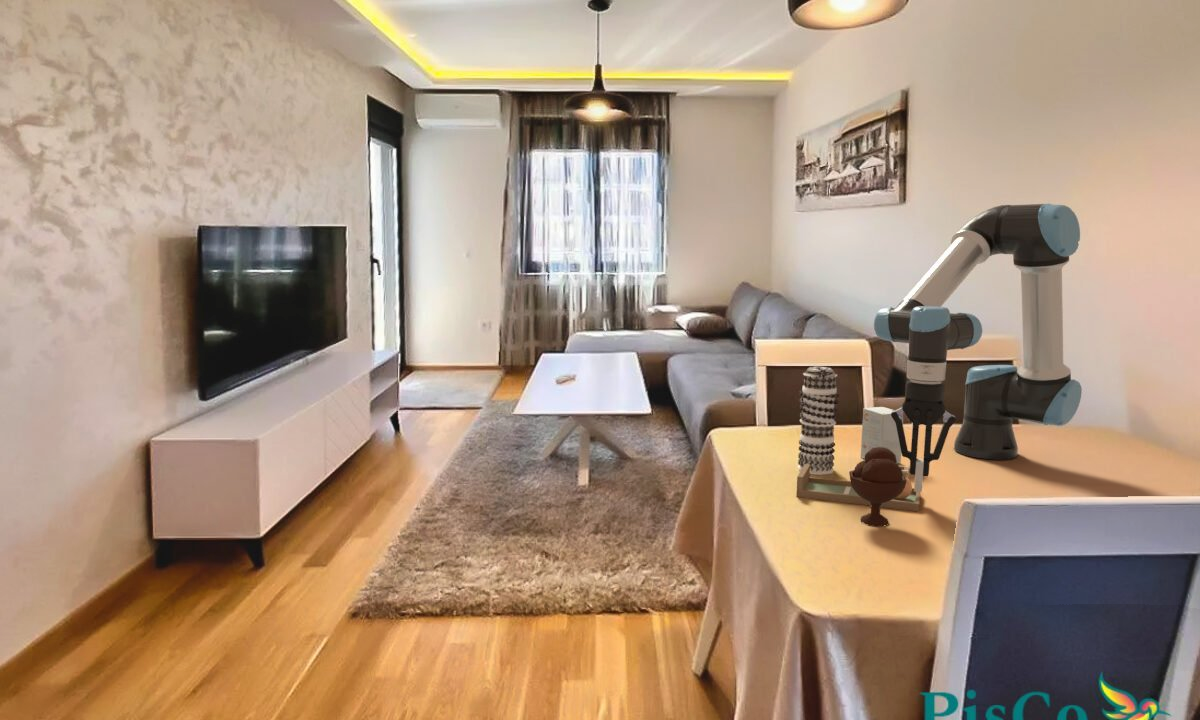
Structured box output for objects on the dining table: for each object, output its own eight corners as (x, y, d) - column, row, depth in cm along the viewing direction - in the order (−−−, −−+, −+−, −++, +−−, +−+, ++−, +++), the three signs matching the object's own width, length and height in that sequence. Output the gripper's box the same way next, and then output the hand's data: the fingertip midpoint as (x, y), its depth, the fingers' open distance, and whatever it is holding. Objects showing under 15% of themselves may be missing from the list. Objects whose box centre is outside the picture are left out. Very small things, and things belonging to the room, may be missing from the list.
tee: (907, 486, 191) (908, 466, 190) (906, 492, 187) (908, 471, 186) (887, 484, 193) (888, 464, 192) (885, 489, 189) (887, 469, 188)
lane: (920, 496, 184) (921, 476, 184) (918, 511, 174) (920, 490, 174) (803, 482, 193) (804, 463, 193) (796, 496, 183) (797, 476, 183)
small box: (901, 463, 210) (904, 412, 208) (880, 465, 208) (883, 414, 206) (880, 455, 218) (883, 406, 216) (859, 457, 215) (862, 407, 213)
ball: (912, 495, 182) (912, 473, 181) (911, 502, 177) (911, 479, 177) (888, 494, 184) (887, 472, 183) (886, 501, 179) (886, 478, 179)
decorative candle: (816, 477, 198) (821, 372, 194) (788, 467, 206) (792, 366, 202) (843, 471, 203) (848, 369, 199) (814, 462, 210) (819, 363, 207)
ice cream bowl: (837, 513, 173) (841, 442, 170) (890, 512, 174) (894, 441, 171) (857, 531, 162) (862, 456, 160) (913, 530, 163) (918, 455, 161)
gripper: (891, 381, 174) (884, 491, 178) (960, 386, 169) (951, 499, 173) (892, 375, 181) (886, 481, 185) (958, 380, 176) (950, 488, 180)
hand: (917, 490), depth 179 cm, fingers closed
